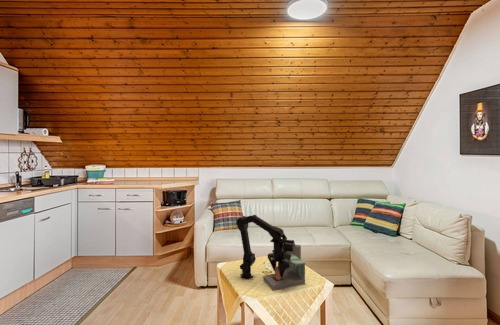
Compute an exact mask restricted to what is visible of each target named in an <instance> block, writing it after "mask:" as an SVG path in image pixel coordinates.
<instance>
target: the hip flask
mask: <svg viewBox="0 0 500 325" xmlns="http://www.w3.org/2000/svg"><path fill="white" fill-rule="evenodd" d="M286 252H287V253H289V254H290V255H291V254H293V255H295V256H296V257H298V258H299V259H301V258H302V246H301V244H295V251H294V252H290V251H286ZM301 260H302V259H301ZM282 261H284V260H282ZM290 270H292V266H290V267H289V268H287V269H285V271H290ZM285 271H284V272H285Z"/></svg>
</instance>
